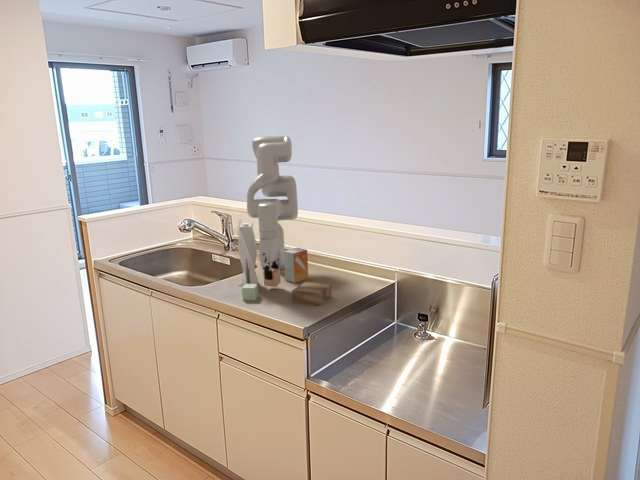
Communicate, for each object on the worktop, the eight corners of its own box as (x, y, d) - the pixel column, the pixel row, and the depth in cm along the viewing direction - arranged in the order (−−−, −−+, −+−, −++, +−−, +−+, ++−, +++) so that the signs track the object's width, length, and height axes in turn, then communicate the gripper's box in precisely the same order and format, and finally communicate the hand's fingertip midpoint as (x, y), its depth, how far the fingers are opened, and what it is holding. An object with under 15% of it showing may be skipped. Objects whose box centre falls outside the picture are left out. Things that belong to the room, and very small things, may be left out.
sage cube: (246, 295, 200) (245, 283, 198) (258, 295, 199) (257, 283, 198) (242, 300, 195) (241, 288, 194) (255, 300, 194) (254, 288, 193)
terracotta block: (269, 281, 209) (268, 267, 207) (280, 282, 207) (279, 268, 205) (264, 285, 204) (263, 271, 203) (275, 286, 203) (274, 272, 201)
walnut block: (306, 293, 200) (305, 281, 198) (331, 297, 195) (331, 284, 194) (292, 303, 190) (291, 290, 189) (318, 306, 185) (318, 293, 184)
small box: (294, 283, 212) (293, 253, 209) (285, 280, 217) (283, 251, 214) (308, 278, 218) (307, 249, 215) (299, 275, 222) (297, 247, 219)
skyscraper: (236, 285, 214) (230, 220, 207) (250, 280, 219) (245, 217, 213) (248, 289, 208) (243, 222, 202) (263, 284, 214) (258, 219, 207)
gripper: (270, 228, 209) (273, 269, 214) (250, 238, 194) (253, 283, 199) (286, 229, 206) (289, 271, 211) (267, 239, 191) (270, 285, 196)
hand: (272, 276), depth 205 cm, fingers closed on terracotta block, 5 cm apart
